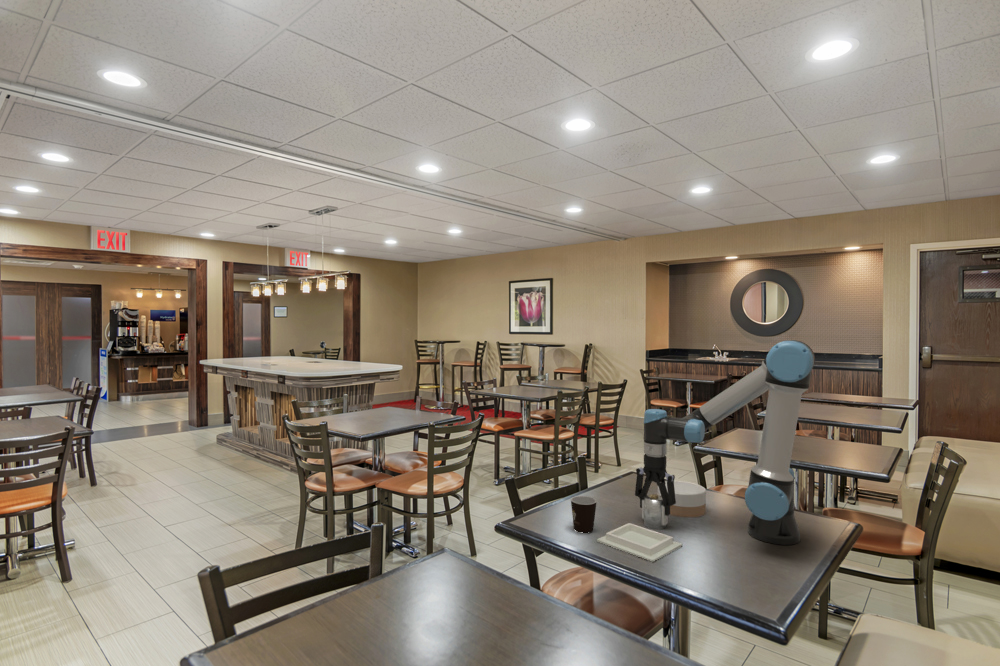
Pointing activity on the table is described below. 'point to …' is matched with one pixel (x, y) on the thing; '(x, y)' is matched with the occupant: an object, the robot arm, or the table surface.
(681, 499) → the bowl
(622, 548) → the guarded tray
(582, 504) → the coffee mug
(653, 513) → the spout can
